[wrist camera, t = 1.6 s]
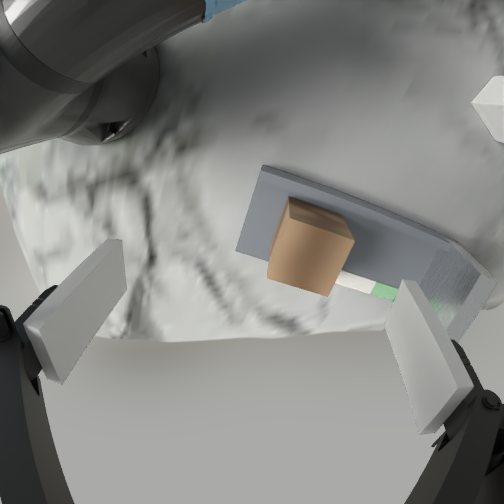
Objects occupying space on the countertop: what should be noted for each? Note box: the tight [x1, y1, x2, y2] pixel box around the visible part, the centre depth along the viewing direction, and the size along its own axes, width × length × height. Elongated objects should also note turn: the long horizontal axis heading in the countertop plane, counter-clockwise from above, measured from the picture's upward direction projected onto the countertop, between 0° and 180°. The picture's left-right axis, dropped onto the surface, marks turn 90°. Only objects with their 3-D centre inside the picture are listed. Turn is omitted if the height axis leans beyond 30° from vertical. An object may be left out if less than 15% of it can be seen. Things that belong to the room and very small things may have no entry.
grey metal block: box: [419, 238, 497, 343], centre depth 30 cm, size 3×10×9 cm, turn 163°
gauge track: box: [236, 165, 460, 301], centre depth 34 cm, size 26×10×3 cm, turn 73°
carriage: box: [267, 196, 355, 297], centre depth 30 cm, size 7×7×7 cm
